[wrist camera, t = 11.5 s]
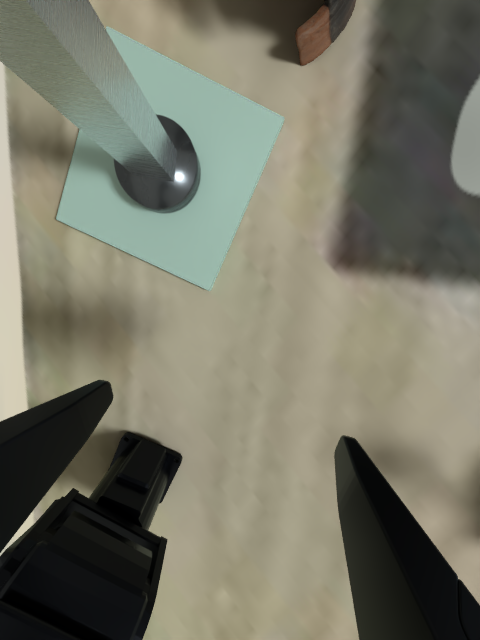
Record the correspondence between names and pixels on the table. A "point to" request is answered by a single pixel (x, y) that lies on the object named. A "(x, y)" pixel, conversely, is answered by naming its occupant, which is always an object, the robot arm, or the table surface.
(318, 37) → the pottery mug
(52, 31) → the square pillar on disc
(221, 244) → the rest mat
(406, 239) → the table surface
